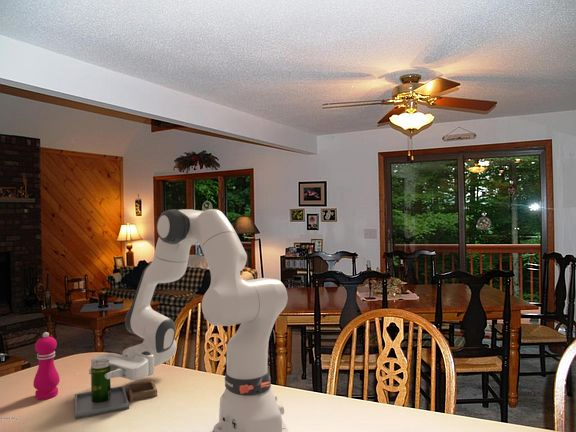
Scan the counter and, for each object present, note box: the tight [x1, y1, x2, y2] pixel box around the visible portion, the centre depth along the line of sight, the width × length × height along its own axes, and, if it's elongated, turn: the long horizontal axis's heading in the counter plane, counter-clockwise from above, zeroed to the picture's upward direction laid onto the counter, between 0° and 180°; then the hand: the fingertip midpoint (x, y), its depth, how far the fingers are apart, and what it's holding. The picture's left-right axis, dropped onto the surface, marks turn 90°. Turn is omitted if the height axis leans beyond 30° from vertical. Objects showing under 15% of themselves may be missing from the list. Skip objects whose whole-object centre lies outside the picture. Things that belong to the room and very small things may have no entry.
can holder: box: [126, 380, 158, 402], centre depth 140 cm, size 8×8×2 cm
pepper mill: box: [33, 331, 60, 401], centre depth 138 cm, size 7×7×20 cm
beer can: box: [90, 359, 112, 405], centre depth 132 cm, size 5×5×12 cm
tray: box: [74, 385, 130, 420], centre depth 132 cm, size 14×14×2 cm
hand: (97, 374), depth 132 cm, fingers closed on beer can, 5 cm apart
